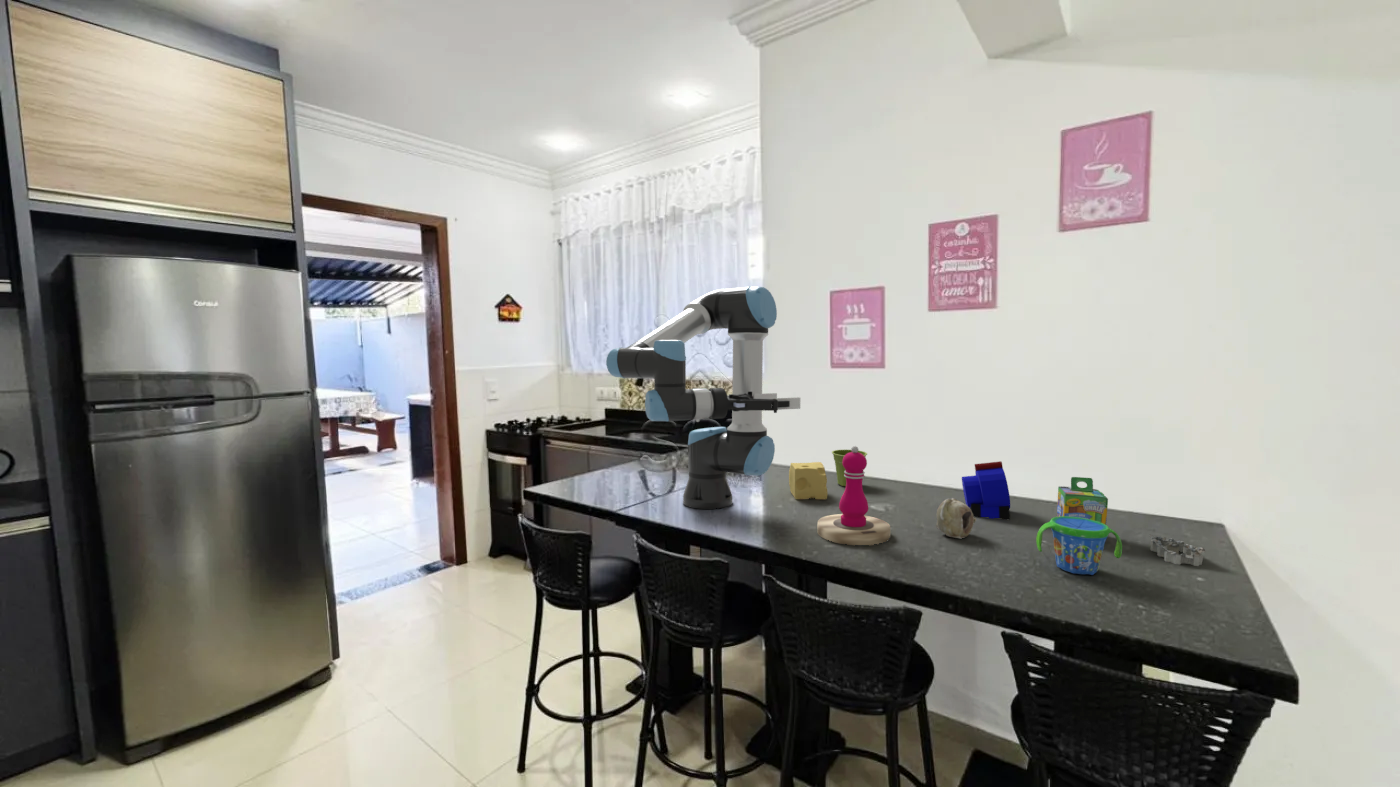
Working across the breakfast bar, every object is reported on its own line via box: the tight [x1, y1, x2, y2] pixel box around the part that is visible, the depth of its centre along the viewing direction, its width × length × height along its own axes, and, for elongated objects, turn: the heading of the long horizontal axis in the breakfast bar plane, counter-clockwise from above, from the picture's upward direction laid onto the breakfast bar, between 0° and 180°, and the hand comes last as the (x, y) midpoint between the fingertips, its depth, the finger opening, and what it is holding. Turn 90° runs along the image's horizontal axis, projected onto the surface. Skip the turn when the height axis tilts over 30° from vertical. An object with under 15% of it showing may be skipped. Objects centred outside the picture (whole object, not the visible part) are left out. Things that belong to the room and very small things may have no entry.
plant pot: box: [831, 449, 868, 487], centre depth 201 cm, size 12×12×11 cm
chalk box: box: [1056, 476, 1109, 525], centre depth 146 cm, size 9×9×15 cm
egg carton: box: [1149, 534, 1206, 567], centre depth 132 cm, size 11×8×4 cm
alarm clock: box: [961, 461, 1011, 520], centre depth 168 cm, size 12×12×15 cm
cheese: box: [788, 461, 828, 500], centre depth 188 cm, size 10×11×10 cm
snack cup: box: [1035, 516, 1123, 576], centre depth 125 cm, size 16×10×10 cm
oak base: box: [816, 513, 891, 546], centre depth 150 cm, size 18×18×3 cm
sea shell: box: [935, 497, 977, 540], centre depth 148 cm, size 9×8×10 cm
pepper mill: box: [838, 445, 869, 527], centre depth 149 cm, size 7×7×20 cm
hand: (787, 400), depth 151 cm, fingers open, 13 cm apart
